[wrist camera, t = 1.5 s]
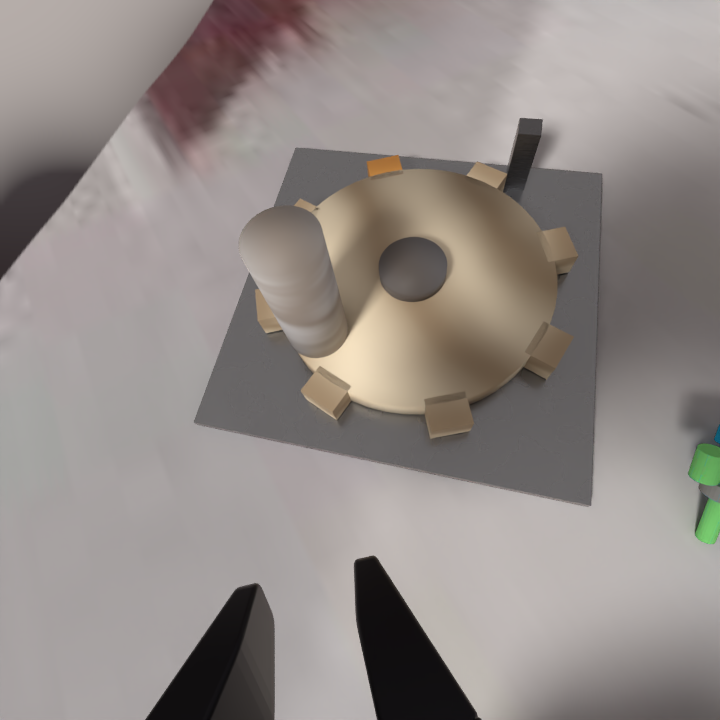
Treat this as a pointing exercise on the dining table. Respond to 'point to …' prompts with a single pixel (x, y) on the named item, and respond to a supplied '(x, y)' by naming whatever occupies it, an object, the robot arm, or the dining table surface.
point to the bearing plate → (490, 415)
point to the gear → (708, 488)
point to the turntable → (411, 290)
